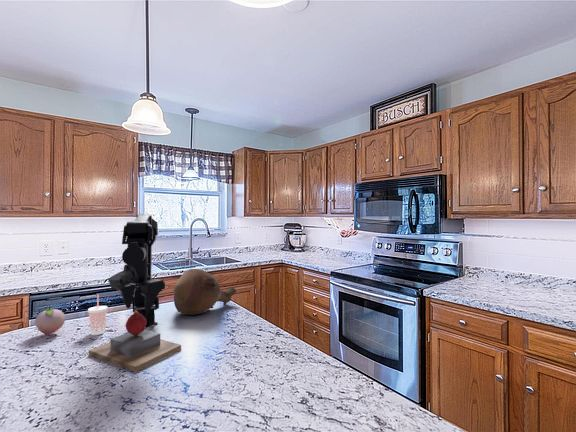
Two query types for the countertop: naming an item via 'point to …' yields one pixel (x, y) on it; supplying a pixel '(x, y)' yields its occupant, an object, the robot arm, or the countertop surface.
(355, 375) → the countertop surface
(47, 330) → the decorative fruit
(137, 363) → the stacking base
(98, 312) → the beverage cup
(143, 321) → the onion
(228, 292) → the jug
